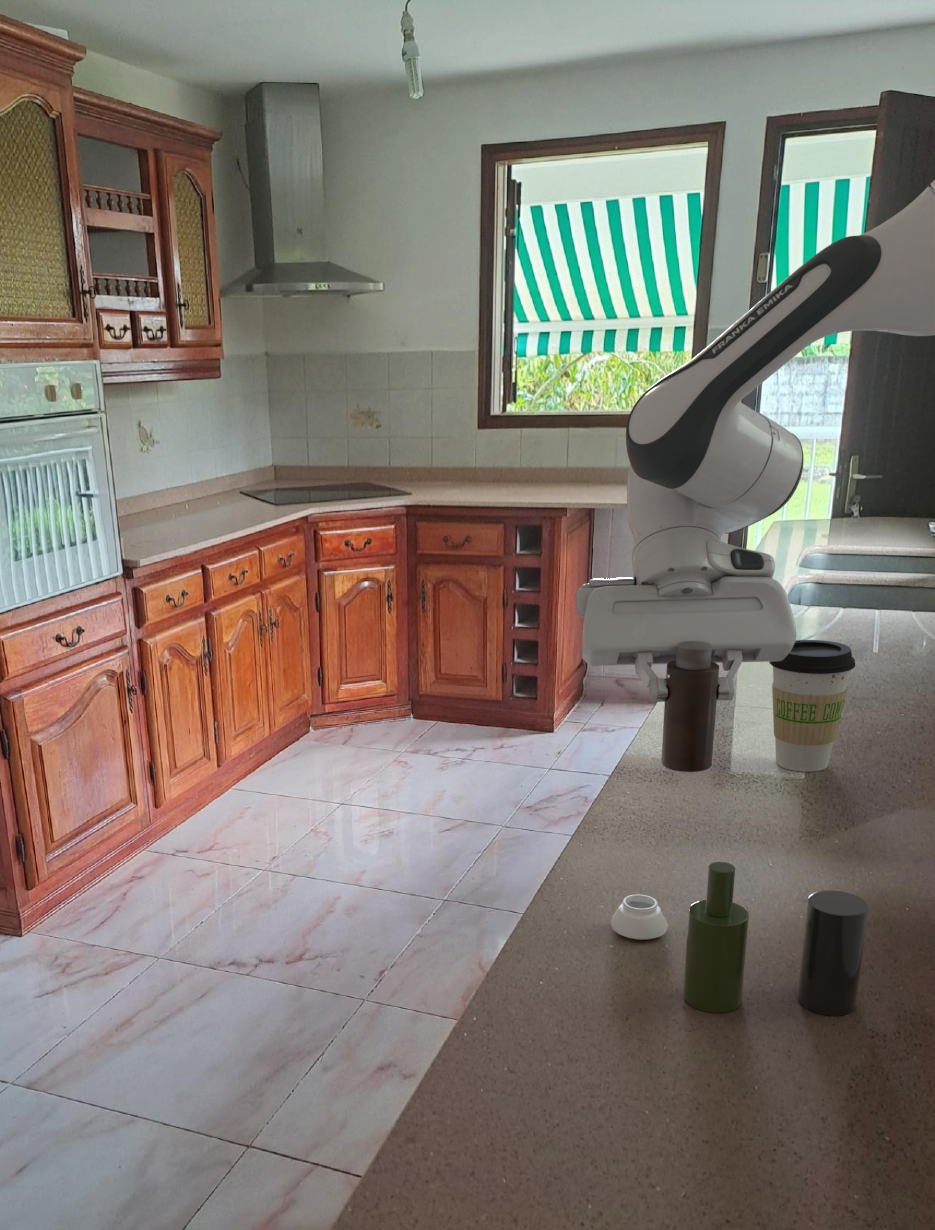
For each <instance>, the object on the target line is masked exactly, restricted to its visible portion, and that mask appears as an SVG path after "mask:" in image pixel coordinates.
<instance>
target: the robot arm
mask: <svg viewBox="0 0 935 1230" xmlns="http://www.w3.org/2000/svg"><path fill="white" fill-rule="evenodd" d="M857 331H858V332H859V331H860V332H861V331H864V332H865V331H868V332H869V331H870V332H882V333H889V334H890V333H891V334H895V335H902V336H910V337H928V336H929V337H930V336H935V179H934V180H933V181H932V182H931V183H930V186H929V185H928V186H927V187H926V188H925V189H924V190H923V191H922V192H921V193H920V194H919V195H918V196H917V197H916V198H914V200H913V201H912V202H910V203H909V204H908V205H906V207H903V209H902V210H900V211H899V212H897V213H896V214H894V215H893V216H892V217H890V218H889V219H887V220H885V221H884V222H883V223H881V224H879V225H877V226H875V227H873V228H872V229H870V230H868V231H866V232H864V233H862V234H859V235H858V234H857V235H850V236H845V237H842V238H840V239H838V240H836V241H834V242H832V243H830V244H829V245H827V246H825V247H824V248H823V249H821V250H820V251H819V252H817V253H816V254H815V255H813V256H812V257H811V258H810V259H808V260H807V261H806V262H804V264H802V265H800V266H799V267H798V268H796V270H795V271H793V272H792V273H791V274H790V275H789V276H788V277H786V278H785V279H784V280H783V281H782V282H780V283H779V284H778V285H777V286H776V287H775V288H773V289H772V290H771V291H770V292H769V293H767V295H765V296H764V297H762V299H761V300H759V301H758V302H757V303H756V304H754V306H753V307H752V308H750V309H749V310H748V311H747V312H746V313H744V314H743V315H742V316H741V317H740V318H739V319H737V320H736V321H735V322H734V323H733V324H732V325H731V326H729V327H728V328H727V329H726V330H725V331H724V332H722V333H721V334H720V335H719V336H718V337H717V338H716V339H714V340H713V341H712V342H711V343H710V344H709V345H707V346H706V347H705V348H704V349H703V350H701V351H700V352H698V354H697V355H695V356H694V357H693V358H691V359H690V360H688V361H687V362H686V363H684V364H683V365H681V366H680V367H678V368H677V369H675V370H673V371H672V372H670V373H669V374H667V375H666V376H664V377H662V378H661V379H659V380H657V382H655V383H654V384H653V385H651V386H650V387H649V388H648V389H647V390H646V391H644V393H642V395H641V396H640V397H639V398H638V400H637V401H636V402H635V404H634V405H633V407H632V408H631V411H630V413H629V414H628V418H627V421H626V428H625V446H626V452H627V457H628V461H629V466H628V467H629V468H628V473H627V481H626V507H627V508H626V509H627V518H628V519H627V520H628V526H629V529H630V532H631V534H632V537H633V545H632V550H631V562H632V572H633V577H616V578H610V579H609V578H608V579H607V578H606V579H604V578H593V579H590V580H589V582H587V583H584V584H582V585H580V587H579V588H578V589H577V590H576V593H575V609H576V611H577V613H578V615H579V616H580V617H581V618H582V619H583V622H582V628H581V641H580V643H581V644H580V650H581V651H580V653H581V654H580V655H581V658H582V660H583V661H584V662H585V663H586V664H587V665H589V666H591V667H607V666H610V667H611V666H634V669H635V674H636V675H637V677H638V678H639V679H640V680H641V682H642V683H643V684H644V685H645V686H646V688H648V695H649V702H650V703H665V702H666V698H667V697H668V688H667V679H666V678H659V677H658V676H657V674H656V673H655V672H654V670H653V669H652V666H653V665H667V664H668V663H669V662H672V661H675V660H676V650H677V644H678V643H681V642H686V641H700V642H706V643H709V644H711V645H712V653H711V662H714V663H716V664H722V670H723V671H724V672H727V673H726V675H725V676H719V678H718V691H717V701H732V700H733V698H734V696H735V685H734V684H735V683H734V679H735V677H736V674H737V673H738V672H739V669H740V667H741V665H742V663H765V662H767V663H769V662H770V661H782V660H783V659H784V658H785V657H786V656H787V655H788V654H789V652H790V651H791V649H792V648H793V646H794V644H795V641H796V640H797V627H796V622H795V617H794V613H793V610H792V609H793V608H792V606H791V602H790V600H789V597H788V594H787V592H786V589H785V588H784V586H783V585H782V583H780V582H779V581H778V580H776V579H774V574H775V570H776V561H775V557H773V555H771V554H769V553H766V552H762V551H757V550H753V549H748V548H744V547H740V546H736V545H733V544H730V543H727V542H723V541H722V536H723V535H724V534H726V535H727V534H728V535H729V534H733V533H736V532H739V531H742V530H743V529H745V528H748V527H750V526H752V525H754V524H756V523H758V522H760V521H762V520H765V519H766V518H768V517H770V516H772V515H774V514H775V513H777V512H778V511H780V510H781V509H782V508H783V507H784V506H785V505H786V504H787V503H788V502H789V501H790V500H791V498H792V497H793V495H794V494H795V492H796V490H797V489H798V486H799V484H800V481H801V479H802V475H803V470H804V463H805V462H804V461H805V460H804V450H803V445H802V443H801V441H800V439H799V437H798V436H797V435H795V434H794V433H792V432H791V431H790V430H788V429H786V428H785V427H784V426H782V425H781V424H779V423H778V422H776V421H774V420H772V418H769V417H768V416H766V415H765V414H762V413H761V412H758V411H755V409H752V408H751V407H749V406H747V405H746V404H744V403H742V402H741V401H742V400H743V399H744V398H745V397H747V396H748V395H749V394H750V393H752V392H753V391H754V390H755V389H757V388H759V386H760V385H762V384H763V383H764V382H766V380H768V379H769V378H770V377H771V376H772V375H774V374H775V373H776V372H778V370H780V369H781V368H782V367H783V366H785V365H786V364H788V362H790V361H791V360H792V359H794V358H795V357H796V356H797V355H799V353H801V352H802V351H803V350H804V349H805V348H807V347H808V346H810V345H812V344H813V343H815V342H817V341H818V340H821V339H823V338H826V337H829V336H831V335H835V334H840V333H845V332H857Z"/></svg>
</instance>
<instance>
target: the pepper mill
mask: <svg viewBox="0 0 935 1230" xmlns="http://www.w3.org/2000/svg"><path fill="white" fill-rule="evenodd" d="M711 653H712V645H711V644H709V643H706V642H700V641H686V642H681V643H678V644H677V650H676V660H675V661H672V662H669V663H668V664H666V675H665V679H667V688H668V697H667V698H666V702H664V707H663V709H664V710H663V723H662V725H663V726H662V742H661V760H660V763H661V765H662V766H663V767H664V768H666V769H669V770H672V771H676V772H683V773H697V772H703V771H706V770H708V769H710V768H711V767H712V765H713V757H714V756H713V755H714V754H713V753H714V742H715V728H716V716H717V705H718V704H717V701H718V700H717V691H718V678H719V677H720V665H719V663H714V662H711Z"/></svg>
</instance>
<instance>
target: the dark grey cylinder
mask: <svg viewBox="0 0 935 1230" xmlns="http://www.w3.org/2000/svg"><path fill="white" fill-rule="evenodd" d="M869 909H870V908H869V904H868V902H867V901H866V900H865V899H863V898H862V897H860V896H858V895H856V894H853V893H850V892H846V891H841V890H820V891H816V892H813V893H812V894H810V895H809V896H808V898H807V905H806V913H805V914H806V915H805V924H804V933H803V942H802V952H801V960H800V961H801V962H800V970H799V971H800V972H799V981H798V988H797V989H798V990H797V1000H798V1003H799V1004H800V1005H802V1007H804V1008H805V1009H806V1010H808V1011H810V1012H813V1013H816V1014H818V1015H824V1016H829V1017H831V1016H832V1017H837V1016H838V1017H840V1016H845V1015H849V1014H852V1013H853V1012H854V1011H855V1009H856V1007H857V1003H858V993H859V985H860V978H861V969H862V963H863V962H862V961H863V955H864V947H865V939H866V933H867V932H866V931H867V923H868V915H869Z"/></svg>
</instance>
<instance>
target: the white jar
mask: <svg viewBox="0 0 935 1230" xmlns="http://www.w3.org/2000/svg"><path fill="white" fill-rule="evenodd" d="M668 925H669V923H668V922H667V920H666V918H665V915H664V914H663V911H662V909H661V907H660V906H659V905H658V901H657V899H655V898H654V897H652V896H649V895H646V894H630V895H628V896H625V897H624V898H623V900H622V903H621V904H620V905H619V906H618V908H617V909H616V911H615V913H614V914H613V915H612V918H611V920H610V926H611V929H612V931H614V932H615V933H616V934H618V935H620V936H623V937H625V938H628V939H633V940H639V941H641V940H642V941H643V940H652V939H657V938H660V937H662V936H663V935H664V934H666V933H667V930H668V927H669V926H668Z"/></svg>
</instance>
